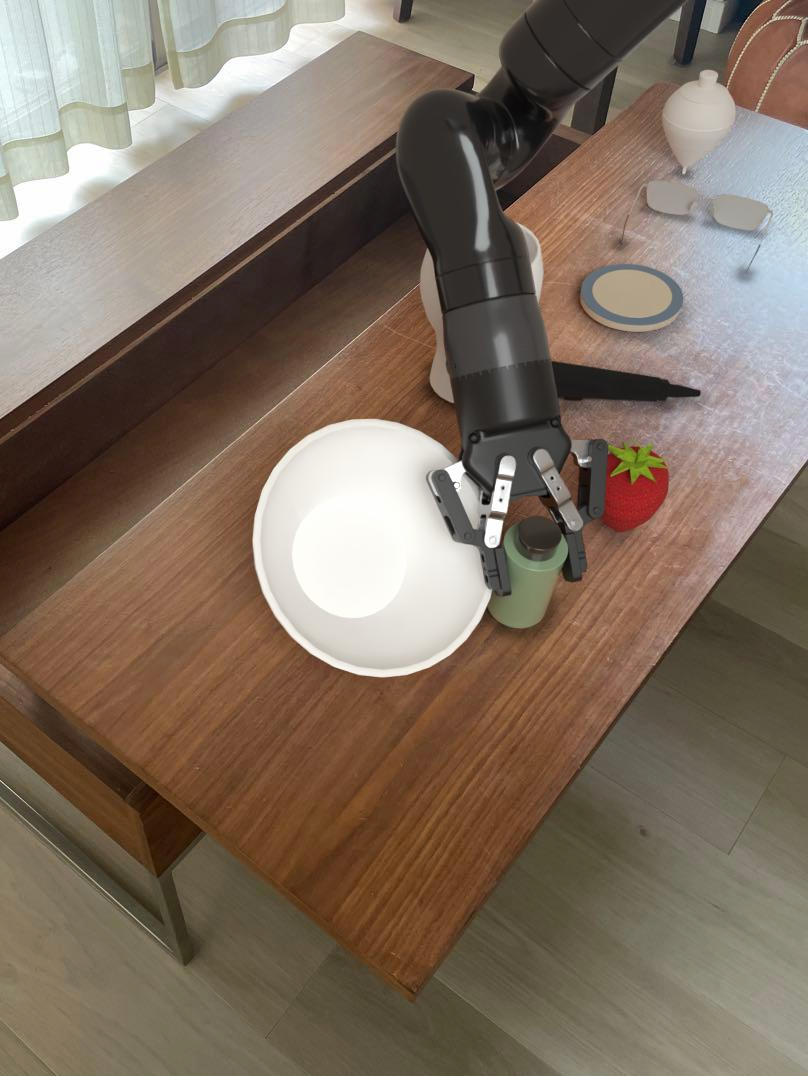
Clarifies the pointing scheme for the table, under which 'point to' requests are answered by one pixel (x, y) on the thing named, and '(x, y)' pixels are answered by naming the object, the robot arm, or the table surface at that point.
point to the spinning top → (698, 118)
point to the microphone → (613, 384)
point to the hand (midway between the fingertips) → (538, 586)
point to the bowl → (367, 550)
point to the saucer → (631, 297)
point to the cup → (433, 313)
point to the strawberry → (633, 486)
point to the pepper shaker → (530, 571)
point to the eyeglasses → (724, 207)
